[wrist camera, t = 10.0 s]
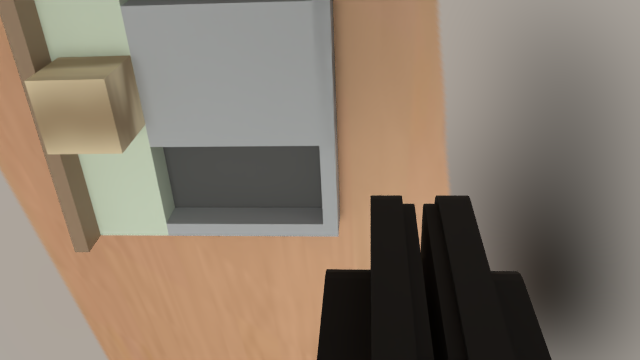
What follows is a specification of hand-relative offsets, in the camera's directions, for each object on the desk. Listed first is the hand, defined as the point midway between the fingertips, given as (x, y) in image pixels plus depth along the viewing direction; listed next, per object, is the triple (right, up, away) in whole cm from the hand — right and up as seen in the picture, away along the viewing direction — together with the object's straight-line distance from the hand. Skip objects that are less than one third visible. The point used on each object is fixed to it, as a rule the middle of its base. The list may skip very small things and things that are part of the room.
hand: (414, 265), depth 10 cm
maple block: (-15, +7, +26) cm, 31 cm away
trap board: (-10, +9, +27) cm, 30 cm away
